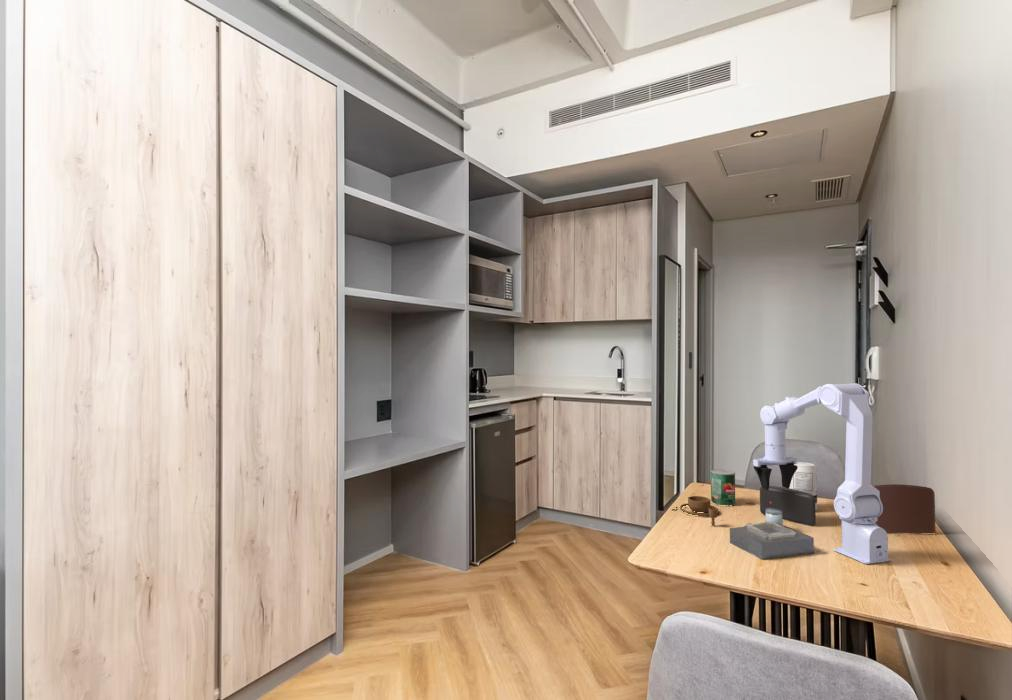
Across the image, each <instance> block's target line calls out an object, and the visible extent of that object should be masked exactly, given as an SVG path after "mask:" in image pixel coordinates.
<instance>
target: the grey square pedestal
mask: <svg viewBox="0 0 1012 700" xmlns="http://www.w3.org/2000/svg"><path fill="white" fill-rule="evenodd" d="M814 540H815V539H814V537H813V536H811V535H808V534H806V533H803V532H801V531H799V530H796V529H794V528H791V527H788V526H787V525H784V524H783V525H782V524H779V523H772V522H766V521H765V522H756V523H750V522H749V523H746V524H745V525H743V526H736V527H729V544H731V545H734V546H736V547H738V548H739V549H741V550H743V551H745V552H747V553H749V554H750V553H751V554H750V555H752V554H753V556H754V555H755V557H756V558H758V559H760V560H769V559H776V558H786V557H793V556H800V555H801V556H802V555H809V554H815V543H814V542H815V541H814Z"/></svg>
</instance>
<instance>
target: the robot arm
mask: <svg viewBox="0 0 1012 700" xmlns="http://www.w3.org/2000/svg"><path fill="white" fill-rule="evenodd" d="M784 399H785V400H782V401H781V402H780V401H777V402H775V403H774V404H773V405H763V407H762V408H761V409H760V413H759V416H760V420H761V422H762V423H763V424H764V456H763V457H760V458H755V459H753V460H752V463H753V469H754V471H755V473H756V474H757V477H758V479H759V482H760V485H761V487H762V489H765V490H769V486H770V477H771V474H772V470H773V469H772V468H770V467H771V466H778V467H779V469H780V470H779V471H780V475H781V485H782V486H781V487H784V488H789V487H790V483H791V480H792V477H793V475H794V473H795V472H796V470H797V466H796V465H794V464H797V462H798V458H797V457H793V456H787V455H786V451H787V450H786V447H787V446H786V430H787V429H788V423H789V422H790V420H792V419H795V418H797V417H799V416H803V415H804V413H805V412H806V409H808V408H811V407H815V406H817V405H820V404H822V405H823V407H826V408H827V409H829V410H830V411H832V412H834V413H835V414H837V415H838V416H841V418H843V419H844V420H845V421H846V423H845V424H846V428H845V429H846V430H845V464H844V465H845V467H844V481H843V483H841V484H840V485H839V486H838V488H837V489H836V491H837V492H836V496H835V498H834V500H833V508H834V511H835V513H836V514H837V516H839V517H838V518H839V519H840V520H841V547H835V548H833V551H834V552H836V553H839V554H842V555H843V556H846V557H849V558H851V559H853V560H855V561H858V562H861V563H863V564H864V565H869V564H877V563H885V561H886V562H891V561H892V559H891V558H890V557H889V537H888V536H889V535H888V533H886V531H885V530H884V529H883V528H881V527H879V526H878V525H877V524H876V523H875V522H876V521H877V517H879V516H880V515H881V514H882V511H883V505H882V502H881V500H880V491H879V490H878V489H876V488H875V487H874V486H875V485H873V484H872V462H873V461H872V457H873V456H872V455H873V452H872V451H873V425H874V424H873V421H874V420H873V418H874V417H873V412H872V410H871V406H870V404H869V402H870V393H869V391H868V390H866V389H865V388H864V387H863V386H862V385H861V384H859V383H854V382H853V383H837V384H836V383H835V384H834V383H833V384H832V383H826V384H823V385H820V386H818V387H817V388H816V389H814V390H812V391H810V392H808V393H806V394H804V395H802V396H800V397H796V396H792V395H791V396H786V397H785V398H784ZM768 466H769V467H768Z"/></svg>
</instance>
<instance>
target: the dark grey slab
mask: <svg viewBox="0 0 1012 700" xmlns="http://www.w3.org/2000/svg"><path fill="white" fill-rule="evenodd" d="M766 508H776V509H780V510H782V515H783V519H784V521H787V520H788V521H787V522H791V523H792V522H793V523H797V524H801V525H804V526H810V527H811V526H815V524H816V521H817V519H816V516H817V515H816V510H815V498H814V496H813V495H811V494H809V493H806V492H803V491H799V490H795V489H790V488H785V487H783V486H776V485H775V486H774V485H769V490H765V489H762V486H761V487H760V488H759V512H760V514H762V515H763V514H764V516H766Z"/></svg>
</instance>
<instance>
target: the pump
mask: <svg viewBox="0 0 1012 700" xmlns="http://www.w3.org/2000/svg"><path fill="white" fill-rule="evenodd" d="M765 522H772V523H779V524H782V525H784V524H783V523H784V522H783V515H782V510H780V509H776V508H766V515H765Z"/></svg>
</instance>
